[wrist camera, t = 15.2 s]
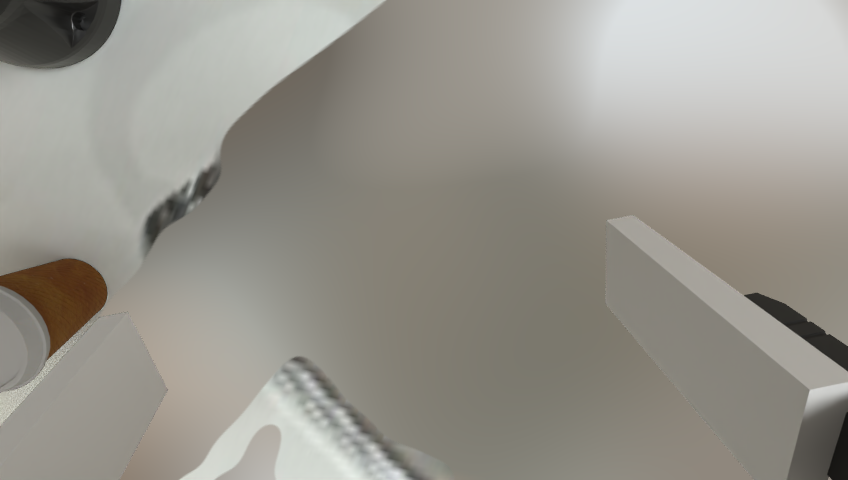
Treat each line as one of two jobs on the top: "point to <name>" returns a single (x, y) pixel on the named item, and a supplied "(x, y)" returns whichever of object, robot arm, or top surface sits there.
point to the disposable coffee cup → (43, 315)
